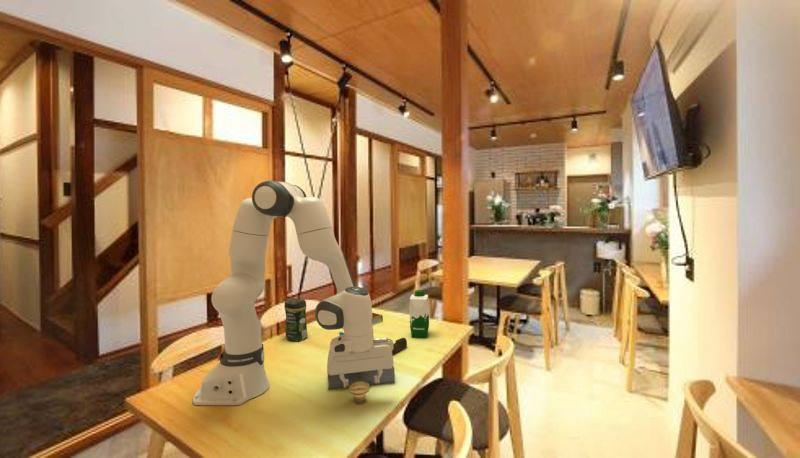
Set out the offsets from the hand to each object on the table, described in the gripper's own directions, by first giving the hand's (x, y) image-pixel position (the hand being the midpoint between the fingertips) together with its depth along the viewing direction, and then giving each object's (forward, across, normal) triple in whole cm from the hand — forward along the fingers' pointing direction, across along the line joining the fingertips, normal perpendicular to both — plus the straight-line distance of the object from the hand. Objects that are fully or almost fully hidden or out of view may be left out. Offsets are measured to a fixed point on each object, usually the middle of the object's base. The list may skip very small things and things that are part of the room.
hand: (361, 384), depth 108 cm
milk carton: (+6, -29, -49) cm, 57 cm away
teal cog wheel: (+5, +4, -43) cm, 43 cm away
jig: (+5, 0, -15) cm, 16 cm away
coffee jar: (+5, +27, -58) cm, 64 cm away
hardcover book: (+6, -3, -76) cm, 77 cm away
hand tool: (+6, -13, -32) cm, 35 cm away
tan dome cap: (+5, +1, 0) cm, 5 cm away
